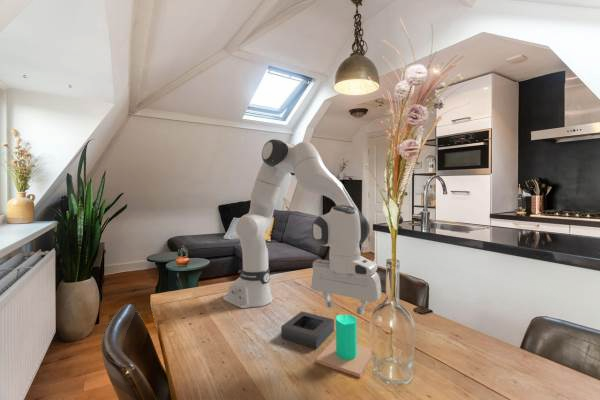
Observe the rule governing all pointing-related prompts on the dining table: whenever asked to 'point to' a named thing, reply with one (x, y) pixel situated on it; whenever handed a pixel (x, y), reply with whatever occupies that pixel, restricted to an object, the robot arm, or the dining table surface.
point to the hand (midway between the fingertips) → (344, 310)
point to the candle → (346, 337)
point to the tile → (347, 366)
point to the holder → (304, 336)
